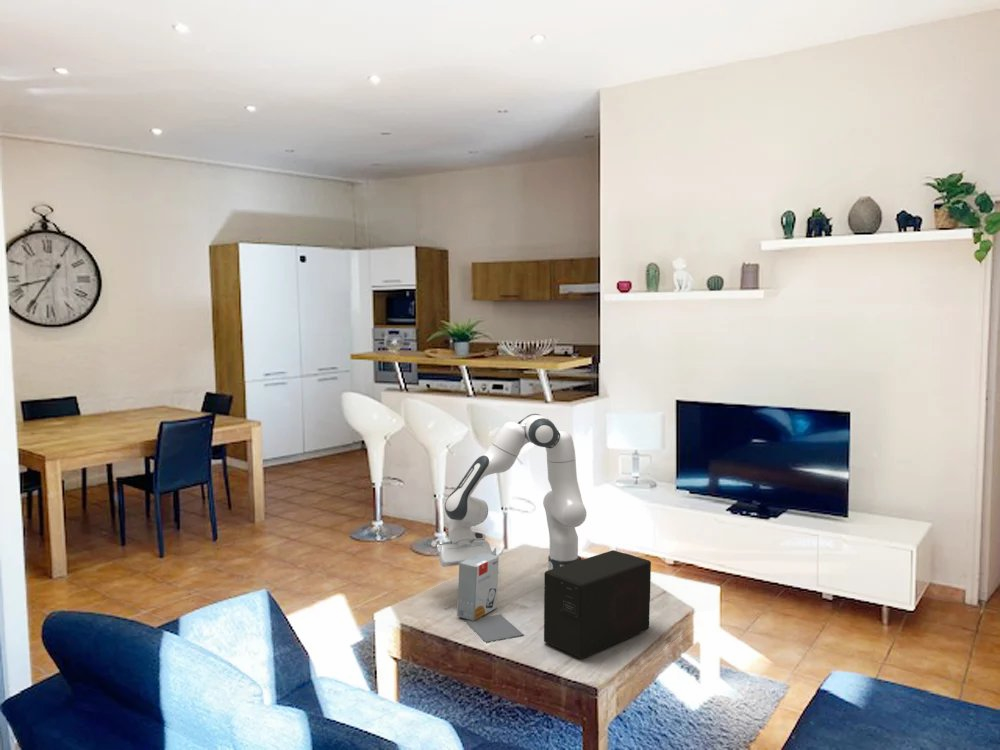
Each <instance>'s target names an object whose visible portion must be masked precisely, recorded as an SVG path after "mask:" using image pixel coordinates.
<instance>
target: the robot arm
mask: <svg viewBox="0 0 1000 750" xmlns="http://www.w3.org/2000/svg"><path fill="white" fill-rule="evenodd" d="M573 440H574V439H573V437H572V434H571V433H570V432H568V431H566V430H559V429H557V427H556V425H555V424H554V422H552V421H551V420H550V419H549V418H548V417H546V416H544V415H542V414H539V413H531V414H528V415H527V416H526V417H524V418H523V419H521V420H520V421H518V422H514V421H507V422H505V423H504V424H503V425H502V426H501V428H500V429H499V431H498V432H497V433H496V434H495V437H494V439H493V440H492V442H491V444H490V445H489V447H488V449H487V450H486V451H485V452H484V453H483V454H482V455H481V456H479V457H477V459H476V460H474V462H473V463H472V465H470V467H469V469H468V470H467V471H466V473H465V475H464V476H463V477H462V479H461V481H460V482H459V483H458V485H457V486H456V488H455V489H454V490H452V492H451V493H450V494H449V495H448V496H447V498H446V499H445V503H444V507H443V517H444V518H443V519H444V523H445V527H446V529H447V530H448V538H449V541H441V542H439V543H438V544H437V545H436V550H437V553H438V554H439V555H438V557H439V564H440V566H441V567H443V568H444V567H445V568H446V567H453V566H459V563H460V562H462V561H465V560H467V559H469V558H471V557H473V556H475V555H478V554H480V553H482V552H484V553H488V554H492V555H493V553H492V550H491V547H492V546H491V545H490V543H489V542H488V540H487V539H486V538H487V537H486V534H485V533H483V532H478V531H473V530H472V527H475V526H477V525H480V524H482V523H484V522H485V520H486V519H487V517H488V514H489V507H488V504H487V502H486V501H485V500H483V499H480V498H477V497H474V496H472V494H473V492H474V491H475V490H476V488H477V487H478V485H479V484H480V482H481V481H482V480H483V479H484V478H485V477H487V476H489V475H493V474H500V473H504V472H506V471H509V470H510V469H511V468H512V467H513V466H514V464H515V462H516V461H517V459H518V456H519V454H520V452H521V449H522V448H524V446H525V445H527V444H528V443H532V444H533V445H534V446H537V447H541V448H545V451H546V463H547V464H546V465H547V466H546V467H547V479H548V483H549V485H550V488H551V490H550V491H548V492H547V493H546V494H545V496H544V497H543V503H542V505H543V507H544V511H545V516H546V522H547V527H548V534H549V535H548V537H549V555H548V560H547V562H548V563H547V564H548V566H547V567H548V569H547V571H548V570H551V569H554V568H558V567H561V566H564V565H567V564H570V563H574V562H577V561H580V560H583V559H586V557H581V556H580V555H579V535H578V534H577V531H576V528H577V527H580V526H581V525H583V524H584V522H585V521H586V518H587V509H586V507H585V504H584V503H583V498H582V493H581V489H580V487H579V482H578V474H577V463H576V459H577V458H576V450H575V449H576V448H575V444H574V441H573Z"/></svg>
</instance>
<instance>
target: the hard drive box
mask: <svg viewBox="0 0 1000 750" xmlns="http://www.w3.org/2000/svg"><path fill="white" fill-rule="evenodd" d="M499 556H500V555H497V554H496V555H492V554H488V553H484V552H482V553H480V554H478V555H475V556H473V557H471V558H469V559H467V560H465V561H462V562H460V563H459V565H458V582H457V583H458V589H457V604H456V605H457V608H456V610H457V611H456V616H457V617H459V618H463V619H465V620H472V621H475V620H476V619H479V618H482V617H483V616H484V615H487V614H488V613H490V612H492V611H493V610H496V609H497V604H498V603H497V602H498V583H499V582H498V581H499V559H500V557H499Z"/></svg>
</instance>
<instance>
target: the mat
mask: <svg viewBox="0 0 1000 750" xmlns="http://www.w3.org/2000/svg"><path fill="white" fill-rule="evenodd" d="M465 622H466V623H467V624H468V625H469V626H470V627H471V628H472V629H473V630H474V631H475V632H476V633H477V634H478V635H479V636H480V637H481V638H482V639H483V640H484V641H485V642H488V643H492V642H491V641H493V642H497V641H496V640H499V641H502V640H501V639H504V640H507V639H506V638H509V639H513V637H514V638H518V637H519V636H520V637H524V635H525V634H524V633H522V632H521V631H520V630H519V629H518V628H517V627H516V626H514V625H513V624H512V623H511V622H510V621H509V620H507V618H505V617H504V616H503V615H502V614H500V613H499V614H496V615H489V616H484V617H483V616H482V617H480V618H479V619H476V620H475V621H472V620H469V619H465V620H464V623H465ZM466 623H465V624H466ZM467 624H466V625H467ZM468 625H467V626H468ZM469 626H468V627H469ZM470 627H469V628H470ZM471 628H470V629H471ZM472 629H471V630H472ZM473 630H472V631H473ZM474 631H473V632H474ZM475 632H474V633H475ZM476 633H475V634H476ZM477 634H476V635H477ZM478 635H477V636H478ZM480 637H479V638H480ZM520 637H519V638H520ZM481 638H480V639H481ZM482 639H481V640H482ZM483 640H482V641H483ZM484 641H483V642H484ZM485 642H484V643H485Z"/></svg>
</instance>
